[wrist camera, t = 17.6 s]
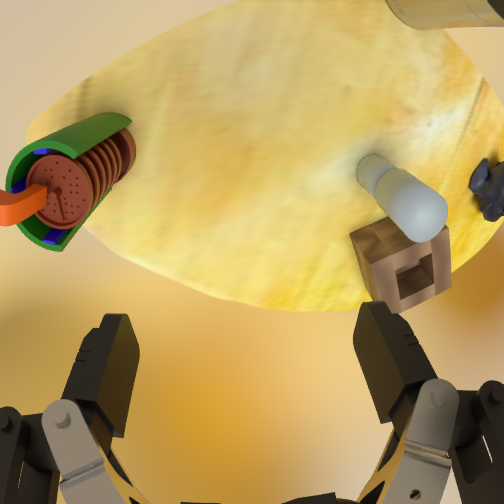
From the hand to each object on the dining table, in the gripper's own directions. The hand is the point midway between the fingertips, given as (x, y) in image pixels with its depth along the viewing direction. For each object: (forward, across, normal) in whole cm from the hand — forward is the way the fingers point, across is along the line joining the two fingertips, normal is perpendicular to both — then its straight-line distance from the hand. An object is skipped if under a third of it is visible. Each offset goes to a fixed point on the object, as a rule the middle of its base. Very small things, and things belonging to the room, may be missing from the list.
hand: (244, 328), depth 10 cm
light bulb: (+30, -18, +4) cm, 35 cm away
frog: (+30, -40, +4) cm, 51 cm away
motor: (+30, +16, 0) cm, 35 cm away
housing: (+30, -24, +16) cm, 41 cm away
